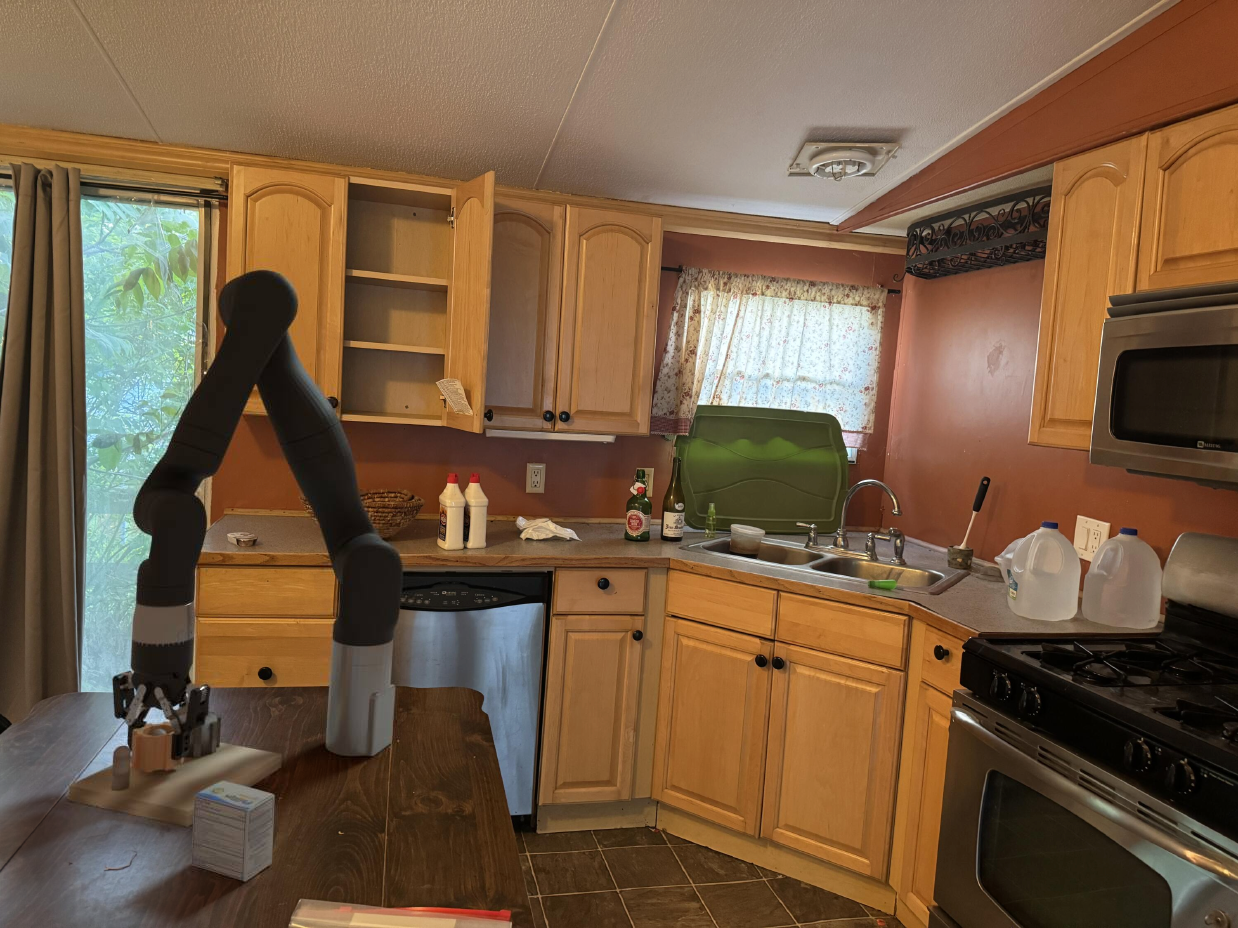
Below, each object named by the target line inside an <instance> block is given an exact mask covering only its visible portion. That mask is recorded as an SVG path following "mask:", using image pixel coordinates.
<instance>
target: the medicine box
mask: <svg viewBox="0 0 1238 928" xmlns="http://www.w3.org/2000/svg"><path fill="white" fill-rule="evenodd" d="M275 796H276V795H275V794H273V793H271V792H267V791H264V790H260V789H257V788H252V787H246V786H242V785H238V784H235V783H230V782H227V781H221V782H219V783H216V784H214V785H212V786H210V787H208V788H206V789H204V790H202V791H201V792H199V793H197V794H196V795H195V796H194V815H193V824H192V840H191V841H192V842H191V863H190V865H191V866H192V867H197V868H200V869H202V870H203V869H204V870H205V871H206V870H207V871H210V872H213V873H216V874H220V875H223V876H227V877H229V878H232V879H236V880H239V881H242V882H247V881H249V880H250V879H252V878H253V877H254V876H256V875H257V874H259V873H260V872H261V871H263V870H264V869H266V868H267V867H268V866H270V865H272V861H273V842H274V819H275V818H274V815H275Z"/></svg>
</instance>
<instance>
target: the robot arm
mask: <svg viewBox="0 0 1238 928" xmlns="http://www.w3.org/2000/svg"><path fill="white" fill-rule="evenodd" d="M298 299H299V298H298V294H297V292H296V289H295V288H294V285H292V282H291V281H289V280H288V279H287V278H286V277H285V276H283V275H282V274H280V273H279V272H277V271H273V270H268V269H256V270H252V271H247V272H245V273H243V274H242V275H241V274H240V275H239V276H237V277H235V278H233V279H231V280H229V281H228V282H226V284H225V285H224V286H223V287H222V288H221V291H220V293H219V296H218V299H217V309H218V315H219V317H220V319H221V322H222V324H223V326H224V327H225V333H224V336H223V339H222V341H221V344H220V346H219V348H218V350H217V353H216V355H215V357H214V359H213V360H212V362H211V364H210V366H209V368H208V370H207V371H206V373H205V374H204V376H203V377H202V378H201V381H200V382H199V384H198V385H197V387H196V388H195V390H194V391H193V393H192V394H191V396H190V398H189V399H188V401H187V403H186V405H185V406H184V408H183V410H182V412H181V415H180V416H179V419H178V421H177V424H176V426H175V429H174V430H173V434H172V436H171V438H170V440H169V442H168V445H167V448H166V450H165V452H164V454H163V455H162V457H161V458H160V459H159V460H158V462H157V463H156V464H155V466H153V469H152V470H151V472H150V473H149V474H148V476H147V478H146V479H145V480H144V482H143V483H142V486H141V487H140V489H139V490H138V492H137V495H136V497H135V501H134V504H133V509H132V517H133V521H134V523H135V525H136V527H137V528H138V529H139V530H140V531H141V532H142V533H144V534H146V535H148V536H151V541H150V548H149V553H148V558H146V559H144V560H142V562H141V563H140V564H139V566H138V569H137V574H136V575H137V576H136V590H135V593H136V594H135V606H134V611H133V617H132V626H131V627H132V632H131V648H130V649H131V650H130V669H131V670H132V671H131V670H128V671H126V672H121V673H119V674H115V675H113V676H112V694H113V695H112V696H113V699H112V700H113V710H114V711H113V713H114V714H113V715H114V717H115V718H116V719H117V720H118V719H119V720H120V719H122V720H124V722H125V724H126V726H127V740H126V741H127V742H126V744H127V747H129V748H130V750H131V752H132V731H133V730H134V729H140V728H142V727H144V726H145V724H148V723H147V722H148V721H146V720H145V719H146V718H147V716H148V715H149V712H150V710H151V708H155V709H158V710H160V711H162V713H163V715H164V717H165V720H168V722H170V723H171V726H172V729H173V732H174V733H173V734H172V749H171V759H172V760H179V759H181V758H183V757H185V756H186V754H187V753H188V752H189V750H190V733H191V731H193V730H195V729H197V728H199V727H201V726H203V725H204V724H205V719H206V713H207V707H208V701H209V702H210V693H211V686H210V685H209V684H208V683H207V684H203V685H199V684H196V683H193V682H192V679H191V677H190V671H191V669H192V666H193V664H194V650H195V649H194V647H195V633H196V631H195V630H196V609H195V592H196V569H197V567H198V566H197V565H198V563H199V561H200V557H201V554H202V550H203V547H204V543H205V539H206V535H207V531H208V516H207V510H206V507H205V504H204V502H203V501H202V499H201V498H200V497H199V496H197V495H196V493H197V490H198V488H199V487H200V486H201V484H202V482H203V481H204V480H206V479H208V478H211V477H213V476H215V475H217V474H216V473H218V471H219V470H220V467H221V465H222V463H223V461H224V459H225V456H226V454H227V451H228V449H229V446H230V444H231V442H232V439H233V437H234V435H235V432H236V430H237V428H238V425H239V423H240V420H241V418H242V415H243V413H244V411H245V408H246V405H247V404H248V401H249V399H250V397H251V395H252V392H253V390H254V388H255V386H256V388H257V391H258V395H259V396H260V399H261V402H262V404H263V406H264V407H263V408H264V410H265V412H266V414H267V416H268V420H269V421H270V424H271V426H272V428H273V431H274V434H275V436H276V438H277V442H278V443H279V446H280V449H281V451H282V453H283V455H284V458H285V460H286V462H287V465H288V466H289V469H290V470H291V473H292V474H293V477H294V479H295V480H296V483H297V485H298V487H299V489H300V491H301V492H302V494H303V496H304V498H305V500H306V502H307V504H308V506H310V508H311V510H312V512H313V513H314V516H315V518H316V520H317V523H318V525H319V527H320V528H319V529H320V532H321V534H322V535H321V536H322V537H323V540H324V544H325V547H326V549H327V554H328V558H329V559H330V560H329V561H330V564H331V567H332V571H333V574H334V576H335V578H336V579H337V581H338V582H339V583H340V584H341V586H340V587H341V589H340V600H339V601H340V602H339V611H338V612H339V613H338V616H337V618H336V619H335V620H334V621H333V624H332V640H331V654H330V656H331V657H330V667H329V668H330V669H329V684H328V699H327V700H328V701H327V705H328V706H327V714H326V715H327V717H326V731H325V749H326V750H328V751H329V752H331V754H332V753H333V754H335V755H338V756H346V757H361V756H369V757H374V756H375V755H377V754H378V753H380V752H381V751H382V750H384V749H385V748H386V747H388V746H389V745H390V744H392V742H393V732H394V731H393V729H394V728H393V727H394V716H395V715H394V713H395V712H394V711H395V700H396V699H395V698H396V685H395V684H393V683H391V679H392V667H393V666H392V663H393V652H394V651H393V649H394V636H395V635H394V634H395V629H396V626H397V624H398V622H399V617H400V611H401V610H400V609H401V599H402V591H403V581H404V579H403V578H404V575H403V574H404V572H403V571H404V567H403V561H402V558H401V555H400V553H399V552H398V550H397V549H396V548H395V547H394V546H393V545H391V544H390V543H388V542H386V541H385V540H383V538H381V536H380V535H379V533H378V531H377V530H376V528H375V526H374V524H373V522H372V520H371V518H370V516H369V515H368V512H367V510H366V508H365V505H364V503H363V501H362V498H361V494H360V490H359V483H358V479H357V478H358V477H357V472H356V471H357V469H356V466H355V465H356V464H355V461H354V455H353V452H352V449H351V446H350V443H349V440H348V438H347V435H346V434H345V431H344V429H343V425H342V424H341V421H340V419H339V416H338V414H337V412H336V411H335V408H333V406H332V404H331V402H330V401H329V400H328V398H327V397H326V395H325V394H324V392H323V391H322V390H321V389H320V387H319V386H318V385H317V383H316V382H315V381H314V380H313V378H312V377H311V376H310V374H309V373H308V372H307V370H306V369H305V367H304V365H303V363H302V362H301V359H300V358H299V355H298V354H297V352H296V349H295V346H294V344H293V340H292V338H291V336H290V333H289V328H290V327H291V325H292V324H293V322H294V321H295V318H296V317H297V315H298V310H299V300H298ZM177 706H178V708H177V709H175V708H174V707H177ZM179 715H180V717H181V720H182V723H181V721H180V718H179Z"/></svg>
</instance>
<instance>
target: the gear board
mask: <svg viewBox="0 0 1238 928" xmlns="http://www.w3.org/2000/svg"><path fill="white" fill-rule="evenodd" d="M209 707H210V700H209V701H208V707H207V713H206V719H205V724H204V725H203V726H201V727H199V728H197V729H195V730H193V731H191V733H190V750H189V752H188V753H187V754H186V756H185V757H184V761H183V762H182V764H176V765H174V766H173V769H169V770H164V769H161V770H154V771H153V772H145V770H142V769H137V770H134V769H132V768H131V767H132V763H131V750H130V748H129V747H128V745H120V746H118V747H116V748H115V749H114V751H113V754H112V765H109V766H107V767H105V768H103V769H101V770H99V771H96V772H94V773H93V774H92V773H91V775H89V776H86V777H84V778H82V779H80V780H78V781H76V782H73V783H71V784H70V785H68V801H69V802H73V803H77V804H83V805H87V806H91V805H92V807H96V806H98V807H97V808H100V809H101V808H102V809H106V810H110V811H114V812H119V813H124V814H129V815H133V816H138V817H141V818H146V819H151V820H156V821H161V822H165V823H169V824H174V825H179V826H183V827H190V826H191V825H193V815H194V796H195V795H196V794H197V793H199V792H201V791H202V790H204V789H206V788H208V787H210V786H212V785H214V784H216V783H219V782H221V781H227V782H230V783H235V784H238V785H242V786H246V787H250V788H252V786H254V785H256V784H257V783H260V781H262V780H263V779H265V778H267V777H269V776H271V774H273V773H275V772H276V771H278V770H280V769H281V768H282V758H283V755H282V753H277V752H272V751H267V750H263V749H256V748H251V747H247V746H240V745H235V744H230V743H226V742H221V728H222V727H221V726H222V716H221V715H217V714H215V712H214V711H210V710H209V709H210V708H209ZM179 718H180V721H181V723H182V720H181V717H180V715H179ZM159 735H167V733H166V732H165V730H163V729H157V730H155V731H153V732H152V734H151V736H159ZM279 768H280V769H279Z"/></svg>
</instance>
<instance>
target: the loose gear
mask: <svg viewBox="0 0 1238 928" xmlns="http://www.w3.org/2000/svg"><path fill="white" fill-rule="evenodd" d="M157 729H163V730H165V732H166V733H167V735H159V736H151V734H152V732H153V731H155V730H157ZM173 733H174V732H173V729H172V726H171V723H170V721H163V722H160V723H152V722H149V723H147V724H145V726H144V727H142V728H140V729H134V730H133V731H132V752H131V763H132V767H131V768H132V769H134V770H137V769H142V770H145V772H153V771H154V770H161V769H164V770H169V769H173V766H174V765H176V764H182V762H183V761H184V757H183V758H181V759H179V760H172V759H171V749H172V734H173Z"/></svg>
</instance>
